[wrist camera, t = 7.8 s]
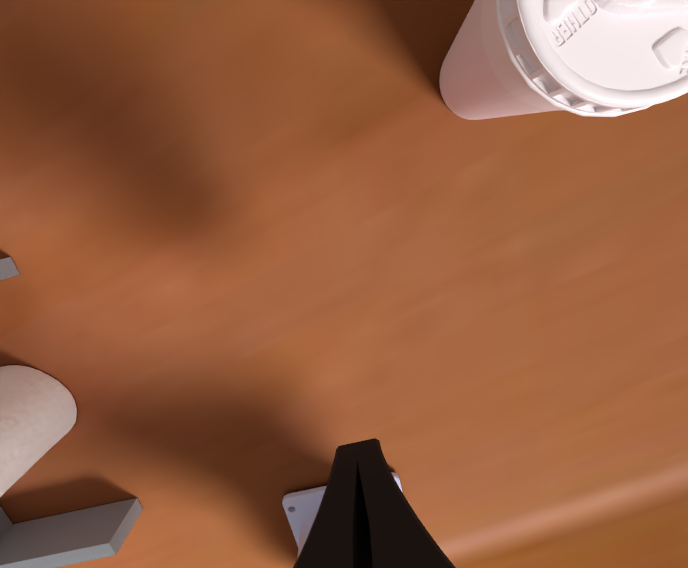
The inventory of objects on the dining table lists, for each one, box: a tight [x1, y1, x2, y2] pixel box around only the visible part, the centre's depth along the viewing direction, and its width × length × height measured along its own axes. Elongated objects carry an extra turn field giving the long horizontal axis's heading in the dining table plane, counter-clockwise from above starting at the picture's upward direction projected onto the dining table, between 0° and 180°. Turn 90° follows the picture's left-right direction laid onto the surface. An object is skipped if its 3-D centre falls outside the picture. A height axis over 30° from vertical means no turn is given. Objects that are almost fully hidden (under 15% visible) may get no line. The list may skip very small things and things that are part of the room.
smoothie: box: [439, 0, 688, 120], centre depth 10 cm, size 6×6×14 cm
